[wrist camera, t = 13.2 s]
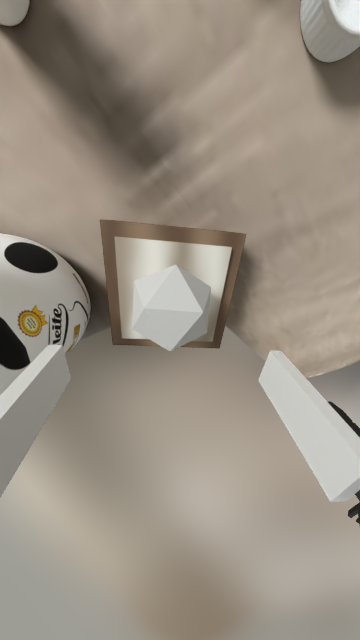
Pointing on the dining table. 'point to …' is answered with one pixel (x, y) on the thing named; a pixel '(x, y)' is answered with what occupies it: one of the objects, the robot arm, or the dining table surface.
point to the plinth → (160, 253)
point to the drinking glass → (13, 11)
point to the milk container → (36, 304)
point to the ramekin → (330, 28)
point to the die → (171, 307)
